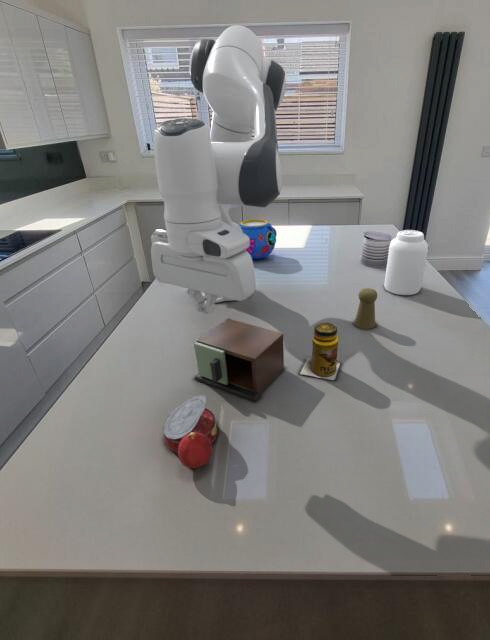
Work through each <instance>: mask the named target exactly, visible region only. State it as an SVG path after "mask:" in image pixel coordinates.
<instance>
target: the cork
mask: <svg viewBox="0 0 490 640" xmlns="http://www.w3.org/2000/svg"><path fill="white" fill-rule="evenodd" d="M377 299H378V292H377V291H376V289H374V288H371V287H364V288H361V289H360V290H359V292H358V300H359V302H358V303H359V304H358V307H357V311H356V315H355V320H354V326H355V327H356V328H358V329H361V330H370V329H374V328H375V327H376V306H375V303H376V301H377Z"/></svg>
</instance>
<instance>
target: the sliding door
mask: <svg viewBox="0 0 490 640" xmlns="http://www.w3.org/2000/svg"><path fill="white" fill-rule="evenodd" d="M193 347H194V354H195V359H196V366H197V371H198V373H199V375H200V376H203V377H206V378H208V379H211V380H213V381H215V382H219V383H222V384H225V385H227V384H228V376H227V368H226V360H225V351H223V350H220V349H217V348H213V347H210V346H207V345H204V344H201V343H198V342H196V341H195V342H194V343H193Z"/></svg>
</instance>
